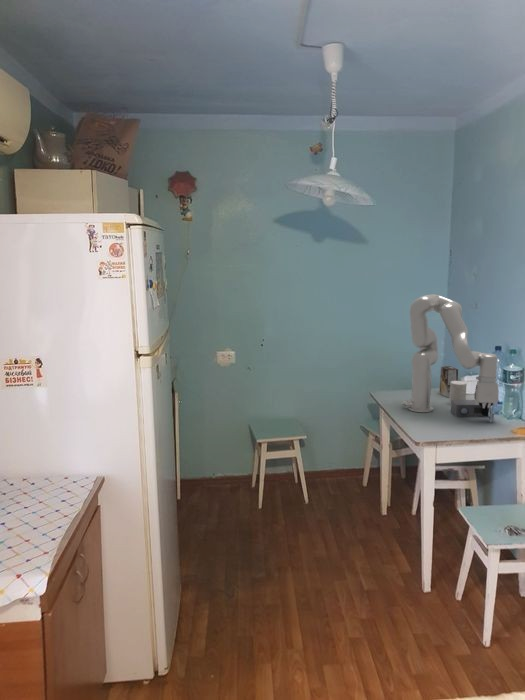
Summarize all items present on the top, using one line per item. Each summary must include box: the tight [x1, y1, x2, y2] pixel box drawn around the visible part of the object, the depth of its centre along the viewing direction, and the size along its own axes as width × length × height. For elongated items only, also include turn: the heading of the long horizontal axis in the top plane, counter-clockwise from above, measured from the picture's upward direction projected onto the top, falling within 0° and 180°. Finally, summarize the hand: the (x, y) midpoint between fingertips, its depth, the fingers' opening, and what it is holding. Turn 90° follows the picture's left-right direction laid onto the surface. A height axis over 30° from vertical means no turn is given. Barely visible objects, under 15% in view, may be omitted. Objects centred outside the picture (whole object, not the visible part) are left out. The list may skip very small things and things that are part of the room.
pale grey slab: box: [489, 405, 495, 424], centre depth 257 cm, size 10×2×6 cm, turn 158°
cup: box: [449, 380, 467, 406], centre depth 284 cm, size 8×8×12 cm
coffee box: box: [439, 365, 459, 398], centre depth 301 cm, size 9×6×16 cm
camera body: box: [450, 399, 490, 417], centre depth 267 cm, size 16×11×7 cm, turn 86°
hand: (484, 415), depth 256 cm, fingers closed
